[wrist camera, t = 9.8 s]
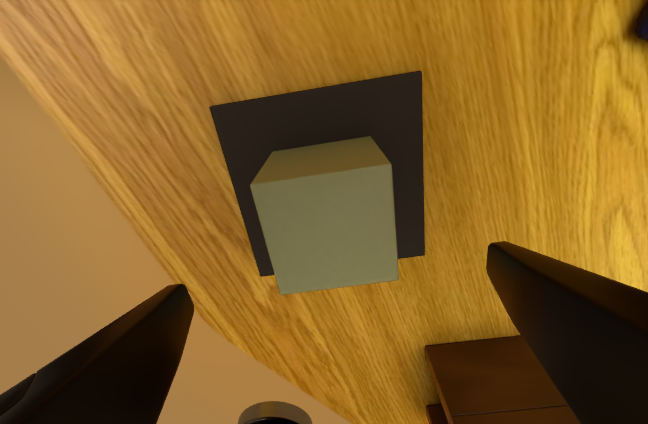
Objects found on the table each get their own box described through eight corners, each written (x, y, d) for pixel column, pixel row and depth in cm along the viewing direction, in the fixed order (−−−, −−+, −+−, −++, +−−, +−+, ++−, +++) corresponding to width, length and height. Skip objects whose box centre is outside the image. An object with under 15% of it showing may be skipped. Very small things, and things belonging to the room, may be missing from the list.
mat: (261, 273, 19) (260, 277, 18) (211, 105, 14) (208, 106, 14) (423, 251, 18) (424, 255, 18) (419, 70, 14) (422, 70, 13)
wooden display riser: (426, 414, 25) (455, 511, 19) (424, 345, 21) (459, 439, 16) (577, 400, 24) (652, 496, 18) (600, 326, 21) (700, 417, 15)
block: (291, 236, 17) (280, 296, 13) (271, 151, 15) (249, 184, 10) (378, 224, 17) (399, 280, 12) (370, 135, 15) (391, 163, 10)
